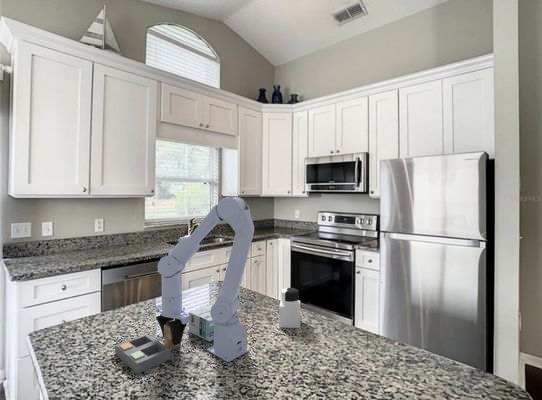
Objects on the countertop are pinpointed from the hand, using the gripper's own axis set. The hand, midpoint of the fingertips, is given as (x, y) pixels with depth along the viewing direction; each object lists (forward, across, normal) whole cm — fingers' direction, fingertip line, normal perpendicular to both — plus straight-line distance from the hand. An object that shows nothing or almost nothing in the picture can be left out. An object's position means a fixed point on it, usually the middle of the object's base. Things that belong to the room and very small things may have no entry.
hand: (172, 341), depth 87 cm
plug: (+1, 0, 0) cm, 1 cm away
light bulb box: (-2, +4, -14) cm, 14 cm away
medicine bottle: (+2, -19, -34) cm, 39 cm away
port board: (+1, +1, +8) cm, 9 cm away
